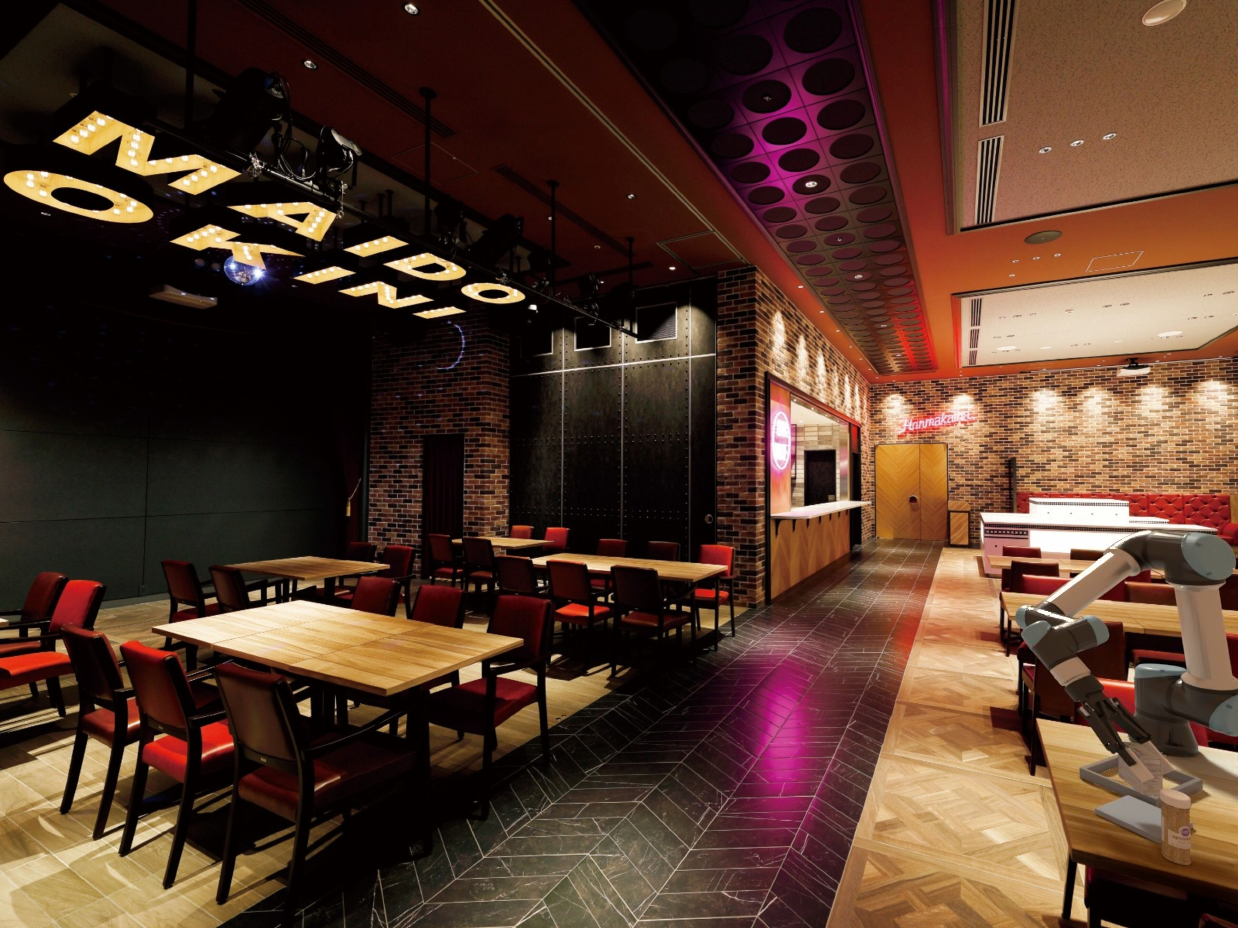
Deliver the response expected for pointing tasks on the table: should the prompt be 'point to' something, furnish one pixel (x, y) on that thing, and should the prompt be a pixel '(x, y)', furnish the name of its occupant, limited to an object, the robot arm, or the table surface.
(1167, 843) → the sprinkles bottle
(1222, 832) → the table surface
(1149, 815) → the board
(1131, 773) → the medicine box
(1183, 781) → the grey rectangular frame
